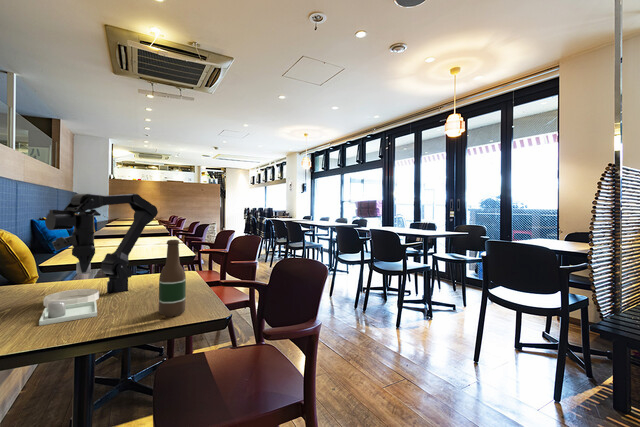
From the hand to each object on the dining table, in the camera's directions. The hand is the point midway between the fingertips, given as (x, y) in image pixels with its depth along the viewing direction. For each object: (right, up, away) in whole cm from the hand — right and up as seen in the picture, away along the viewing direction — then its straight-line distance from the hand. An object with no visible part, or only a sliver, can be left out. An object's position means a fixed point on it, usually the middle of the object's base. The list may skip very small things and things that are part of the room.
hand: (83, 271), depth 108 cm
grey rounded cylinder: (0, -1, 0) cm, 1 cm away
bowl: (-3, -11, -2) cm, 11 cm away
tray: (+8, -11, -15) cm, 20 cm away
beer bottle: (+37, -12, -11) cm, 40 cm away
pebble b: (+5, -10, -17) cm, 20 cm away
